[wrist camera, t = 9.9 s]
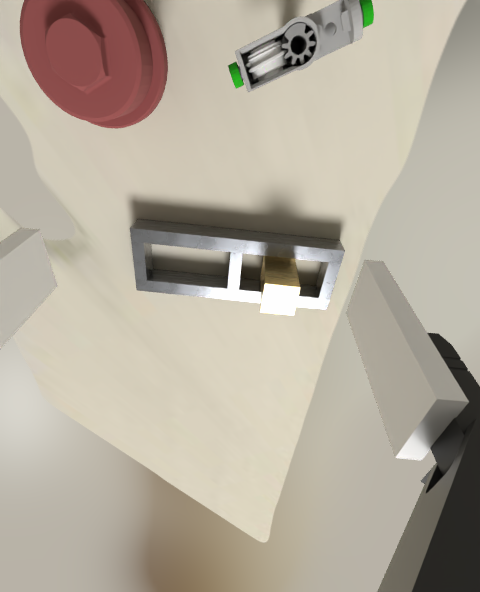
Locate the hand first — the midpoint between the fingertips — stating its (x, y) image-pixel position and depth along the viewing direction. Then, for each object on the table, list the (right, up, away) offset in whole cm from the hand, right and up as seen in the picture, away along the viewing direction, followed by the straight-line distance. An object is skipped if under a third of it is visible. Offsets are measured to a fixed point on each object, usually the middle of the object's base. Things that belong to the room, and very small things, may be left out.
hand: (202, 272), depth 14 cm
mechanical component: (+6, +22, +17) cm, 29 cm away
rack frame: (+1, +4, +30) cm, 31 cm away
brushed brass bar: (+7, +3, +31) cm, 31 cm away
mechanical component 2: (-9, +22, +18) cm, 30 cm away
